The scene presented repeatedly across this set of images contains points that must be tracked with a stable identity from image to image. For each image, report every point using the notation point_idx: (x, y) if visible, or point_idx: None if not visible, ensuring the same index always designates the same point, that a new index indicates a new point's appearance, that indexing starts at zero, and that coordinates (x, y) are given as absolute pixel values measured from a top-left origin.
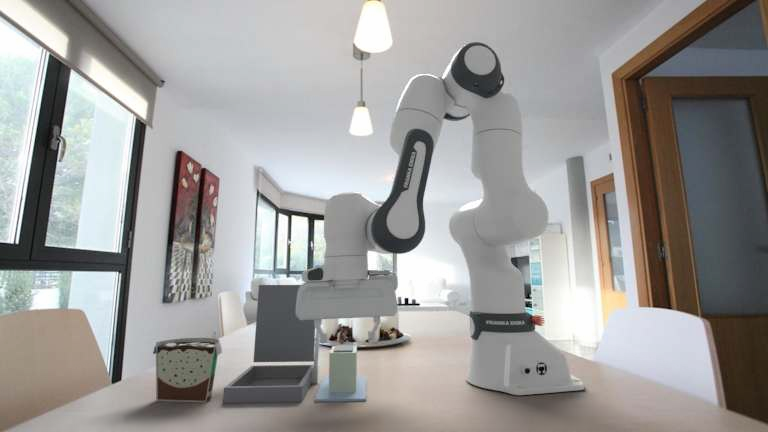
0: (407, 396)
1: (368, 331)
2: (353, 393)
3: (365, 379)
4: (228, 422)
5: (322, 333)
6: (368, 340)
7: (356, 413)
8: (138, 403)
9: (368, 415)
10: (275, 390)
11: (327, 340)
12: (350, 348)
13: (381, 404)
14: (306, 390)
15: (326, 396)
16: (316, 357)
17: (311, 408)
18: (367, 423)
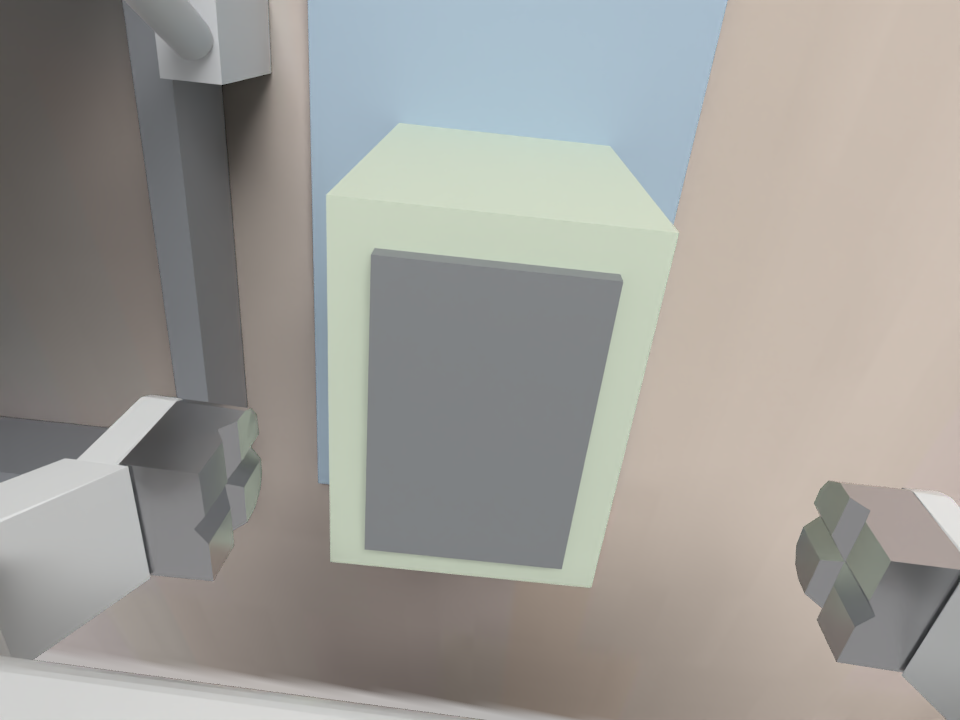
0: (861, 470)
1: (859, 636)
2: None
3: (702, 86)
4: None
5: (137, 580)
6: (798, 551)
7: (529, 626)
8: None
9: (577, 649)
10: None
11: (250, 508)
12: (552, 483)
13: (670, 553)
14: (234, 323)
15: None
16: (146, 7)
17: (320, 549)
18: (558, 705)
